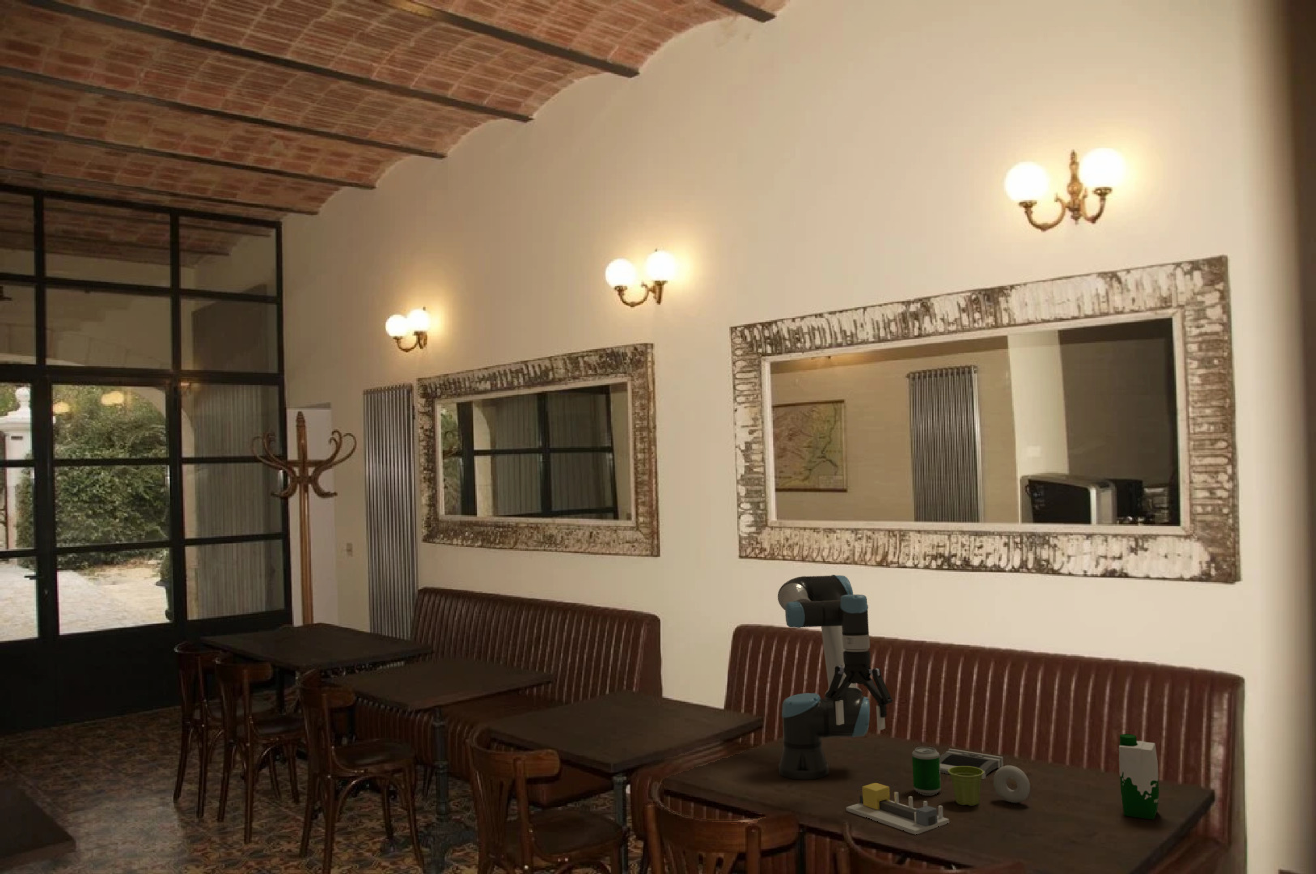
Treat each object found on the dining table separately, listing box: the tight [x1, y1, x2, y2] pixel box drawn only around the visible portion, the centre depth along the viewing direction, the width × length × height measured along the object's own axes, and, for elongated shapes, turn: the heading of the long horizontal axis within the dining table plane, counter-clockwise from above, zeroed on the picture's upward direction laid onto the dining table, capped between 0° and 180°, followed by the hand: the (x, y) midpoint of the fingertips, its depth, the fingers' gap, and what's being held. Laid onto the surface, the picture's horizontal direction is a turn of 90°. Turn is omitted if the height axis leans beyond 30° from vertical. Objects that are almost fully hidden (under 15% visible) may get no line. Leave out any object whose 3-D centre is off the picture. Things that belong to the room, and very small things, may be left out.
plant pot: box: [948, 766, 984, 807], centre depth 280 cm, size 9×9×9 cm
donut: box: [992, 765, 1031, 804], centre depth 278 cm, size 10×3×10 cm, turn 49°
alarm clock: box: [939, 748, 1004, 780], centre depth 310 cm, size 17×5×16 cm
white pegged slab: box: [845, 791, 950, 836], centre depth 270 cm, size 24×13×5 cm, turn 35°
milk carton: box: [1118, 733, 1160, 820], centre depth 266 cm, size 9×9×20 cm
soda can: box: [911, 746, 942, 796], centre depth 290 cm, size 8×8×12 cm
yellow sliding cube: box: [862, 782, 891, 810], centre depth 276 cm, size 5×5×5 cm
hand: (860, 727), depth 285 cm, fingers open, 13 cm apart
